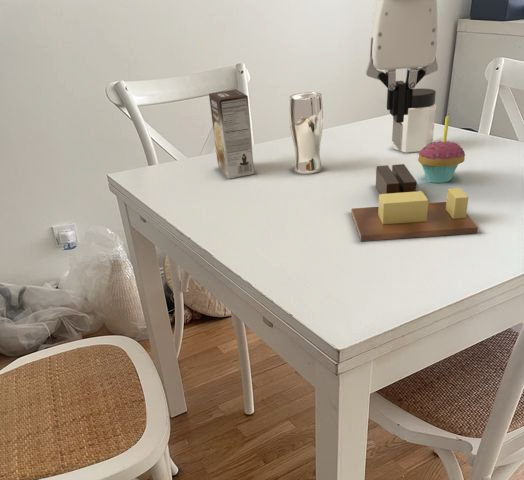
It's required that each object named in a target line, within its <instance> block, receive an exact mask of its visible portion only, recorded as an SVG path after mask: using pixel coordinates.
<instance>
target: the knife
mask: <svg viewBox="0 0 524 480" xmlns="http://www.w3.org/2000/svg"><path fill="white" fill-rule="evenodd" d="M396 86H397V90H398V104H397V115H396V116H392V136H391V142H392V144H393V143H394V144H395V145H396V147H397V148H398V149H399V151H398V152H402V151H401V148H402V134H403V125H402V123H401V122H403V121H404V107H405V93H406V83H405V81H403V80H396Z"/></svg>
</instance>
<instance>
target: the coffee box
mask: <svg viewBox="0 0 524 480" xmlns="http://www.w3.org/2000/svg"><path fill="white" fill-rule="evenodd" d="M208 97H209V107H210V113H211V122H212V129H213V137H214V145H215V146H214V147H215V153H216V161H217V168H218V170H219V171H220V172H222V174H224V176H225V177H226V178H227V179H229V180H230V179H234V178H239V177H246V176H250V175H251V176H252V175H254V174H255V169H254V167H255V166H254V155H253V145H252V132H251V117H250V108H249V107H250V106H249V96H248V95H247V94H245V93H243V92H242V91H241V90H239V89H230V90H229V89H228V90H222V91H216V92H211V93H208Z"/></svg>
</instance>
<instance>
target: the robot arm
mask: <svg viewBox="0 0 524 480" xmlns="http://www.w3.org/2000/svg"><path fill="white" fill-rule="evenodd" d="M369 40H370V42H369V55H368V56H369V61H368V63H367V66H366V69H365V75H366V77H368V78H372V79H374V80H379V81H380V82H381V83H382V84H383V85H384V87H386V88H387V91H386V92H387V93H386V110H387V111H389V114H390V115H391V116H392V117H393V116H396V115H397V104H398V90H397V86H396V81H397V78H396V77H397V70H401V69H406V73H405V81H404V83H406V93H405V107H404V115H408V109H409V108H411V107H412V96H413V89H416V86H417V85H418V84H419V82H421V80H423V78H424V77H426V76H429V75H431V74H433V73H435V72H437V70H438V69H439V66H438V61H437V57H436V55H437V47H438V0H375V2H374V6H373V13H372V21H371V28H370V39H369Z"/></svg>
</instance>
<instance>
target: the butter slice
mask: <svg viewBox="0 0 524 480" xmlns="http://www.w3.org/2000/svg"><path fill="white" fill-rule="evenodd" d="M446 194H447V195H446V201H445V202H446V210H447V212H448V213H449V214H450V215H451V217H452V218H453V219H460V218H466V213H467V211H468V203H469V196H468V195H467V193H466V192H464V190H463V189H462V188H461V187H453V188H447V193H446Z"/></svg>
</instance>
